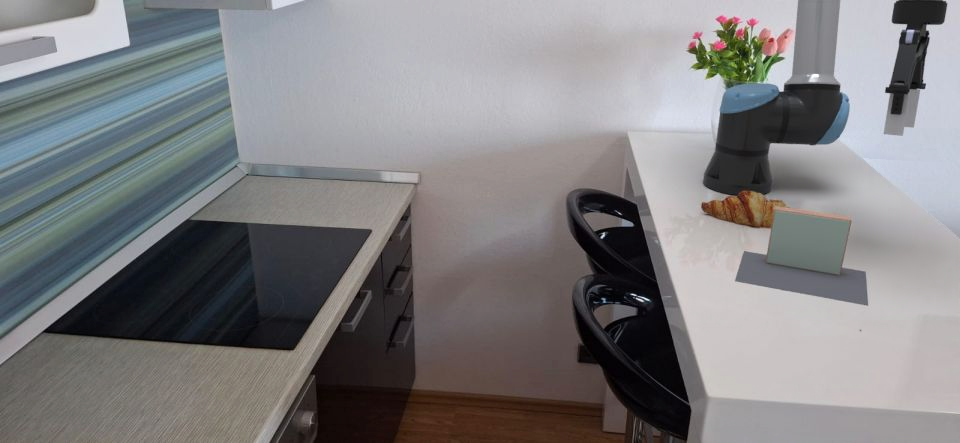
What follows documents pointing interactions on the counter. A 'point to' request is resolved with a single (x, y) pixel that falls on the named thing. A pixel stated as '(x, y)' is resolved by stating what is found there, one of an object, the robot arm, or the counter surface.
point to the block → (808, 240)
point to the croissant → (744, 209)
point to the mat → (803, 279)
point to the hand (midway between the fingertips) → (899, 130)
